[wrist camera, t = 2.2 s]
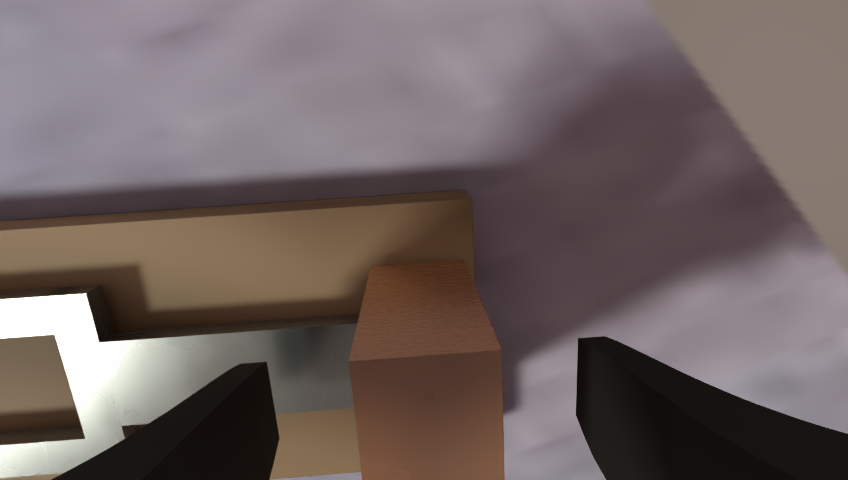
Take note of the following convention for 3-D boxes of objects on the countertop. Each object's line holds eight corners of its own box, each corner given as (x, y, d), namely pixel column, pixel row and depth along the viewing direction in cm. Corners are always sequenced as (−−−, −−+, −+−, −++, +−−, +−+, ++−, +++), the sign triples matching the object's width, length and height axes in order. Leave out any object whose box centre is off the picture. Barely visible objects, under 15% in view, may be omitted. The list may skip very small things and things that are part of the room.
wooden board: (474, 429, 15) (480, 461, 14) (-209, 483, 15) (-276, 523, 13) (464, 190, 13) (471, 198, 12) (-329, 243, 13) (-423, 259, 11)
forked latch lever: (481, 425, 13) (522, 592, 9) (-74, 468, 13) (-345, 668, 8) (475, 258, 12) (521, 348, 7) (-142, 301, 12) (-510, 425, 7)
